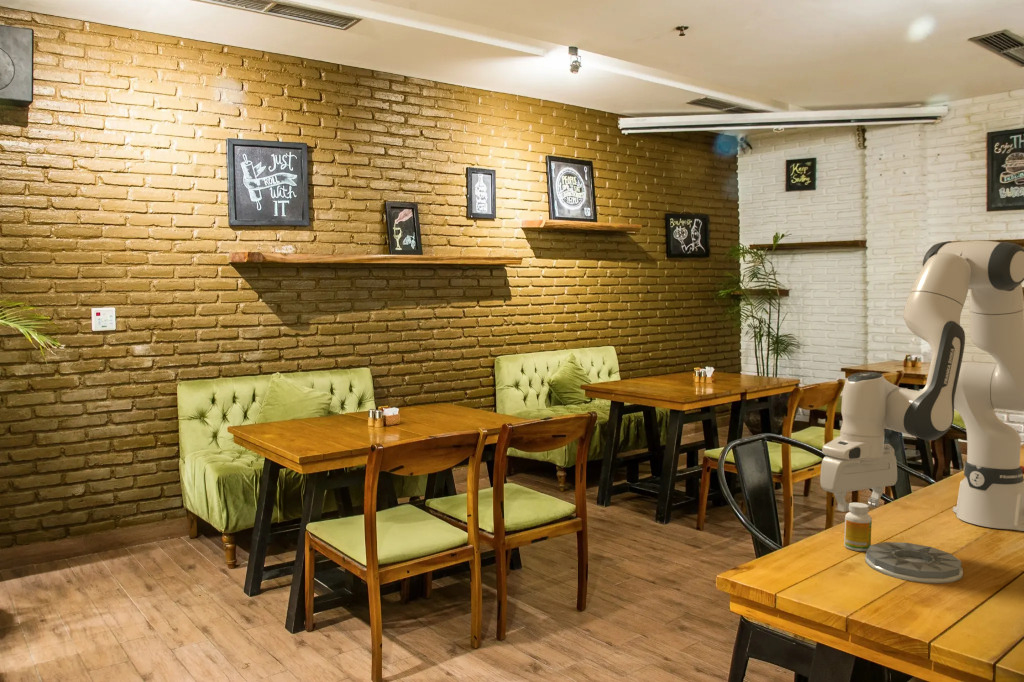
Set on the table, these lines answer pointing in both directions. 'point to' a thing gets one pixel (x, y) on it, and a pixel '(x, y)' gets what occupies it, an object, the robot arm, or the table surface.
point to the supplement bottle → (857, 527)
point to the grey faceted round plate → (914, 562)
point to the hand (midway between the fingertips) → (858, 508)
